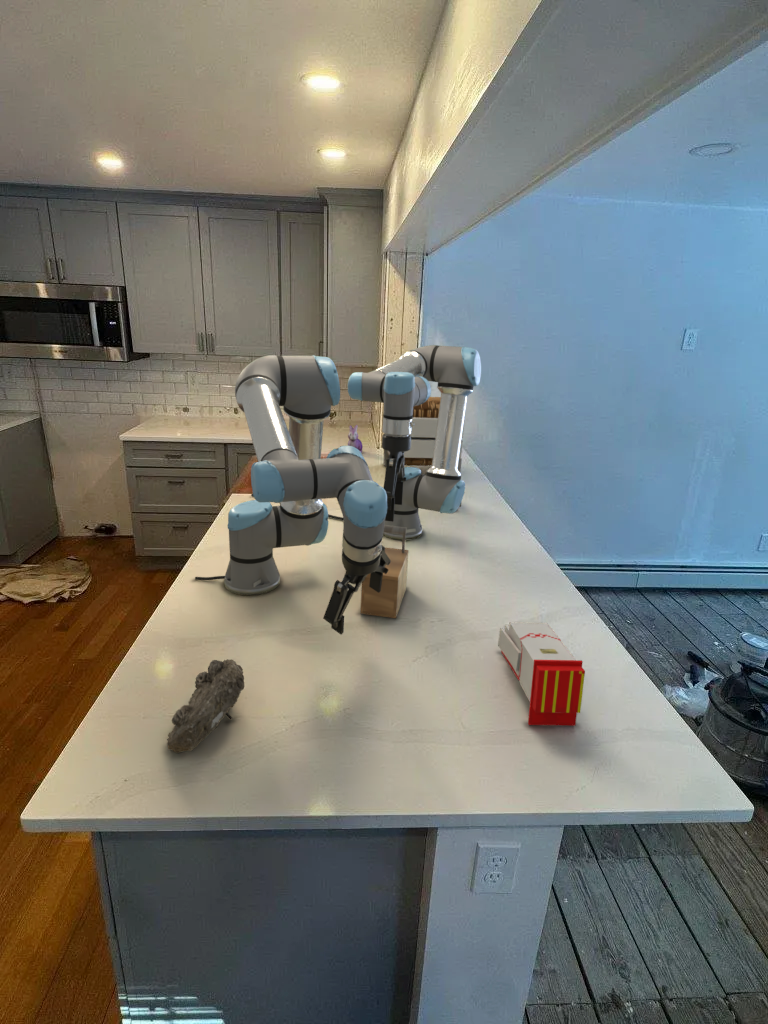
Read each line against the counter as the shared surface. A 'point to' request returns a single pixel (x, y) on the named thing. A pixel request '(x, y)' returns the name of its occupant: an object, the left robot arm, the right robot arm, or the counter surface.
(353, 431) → the figurine
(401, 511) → the right robot arm
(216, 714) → the fossil
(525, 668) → the toy
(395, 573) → the lid
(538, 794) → the counter surface
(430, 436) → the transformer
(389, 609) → the chest
